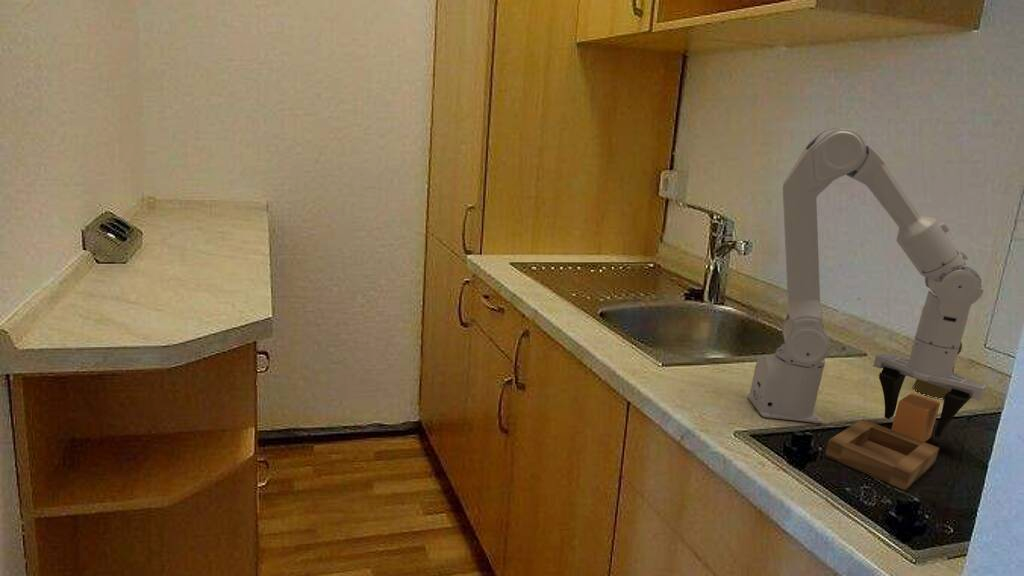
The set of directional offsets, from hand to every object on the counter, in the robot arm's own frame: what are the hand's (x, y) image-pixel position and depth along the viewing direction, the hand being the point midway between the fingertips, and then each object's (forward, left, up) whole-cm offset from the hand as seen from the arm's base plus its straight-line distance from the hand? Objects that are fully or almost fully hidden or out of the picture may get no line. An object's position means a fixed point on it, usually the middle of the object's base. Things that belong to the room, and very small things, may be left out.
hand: (913, 425), depth 106 cm
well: (-9, -9, -2) cm, 13 cm away
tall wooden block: (0, 0, -2) cm, 2 cm away
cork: (+15, +21, -2) cm, 26 cm away
